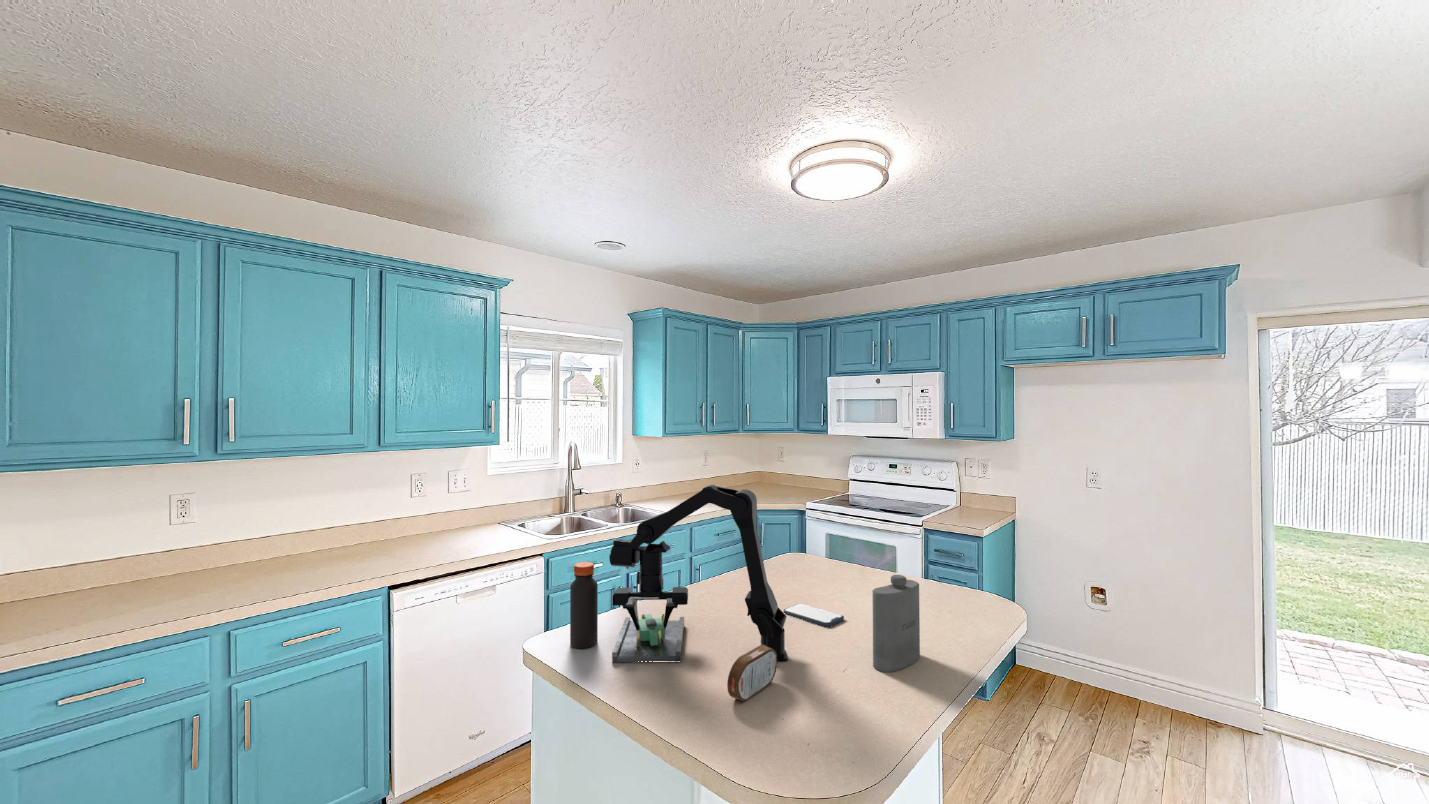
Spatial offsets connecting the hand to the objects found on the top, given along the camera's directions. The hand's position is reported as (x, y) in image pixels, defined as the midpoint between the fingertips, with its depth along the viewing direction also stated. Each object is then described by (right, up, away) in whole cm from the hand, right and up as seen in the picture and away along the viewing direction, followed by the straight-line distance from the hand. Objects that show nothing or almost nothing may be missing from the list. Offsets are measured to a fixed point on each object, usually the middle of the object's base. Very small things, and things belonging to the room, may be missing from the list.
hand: (651, 630), depth 140 cm
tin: (+24, -3, -25) cm, 35 cm away
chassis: (0, -3, 0) cm, 3 cm away
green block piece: (0, -1, 0) cm, 1 cm away
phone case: (+44, -4, +18) cm, 48 cm away
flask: (+59, -3, -11) cm, 60 cm away
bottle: (-17, -4, 0) cm, 17 cm away
